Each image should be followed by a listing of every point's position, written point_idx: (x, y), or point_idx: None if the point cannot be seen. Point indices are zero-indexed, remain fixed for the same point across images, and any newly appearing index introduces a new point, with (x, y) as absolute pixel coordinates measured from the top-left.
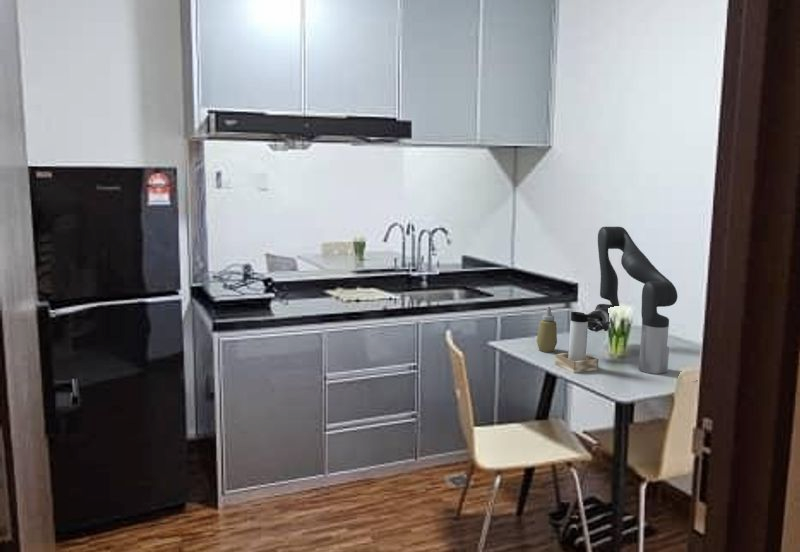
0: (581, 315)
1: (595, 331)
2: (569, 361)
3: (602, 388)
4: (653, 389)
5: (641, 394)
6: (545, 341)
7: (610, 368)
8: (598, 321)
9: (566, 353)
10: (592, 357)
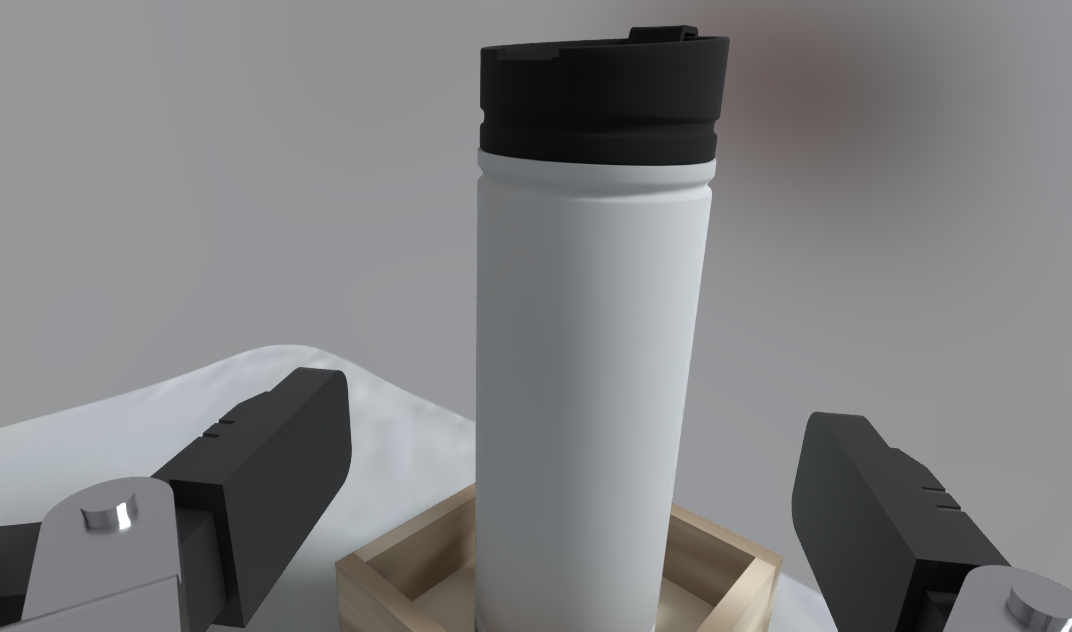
0: (554, 52)
1: (342, 464)
2: None
3: (361, 386)
4: (50, 433)
5: (176, 378)
6: None
7: None
8: (93, 619)
9: (712, 623)
10: (399, 595)
